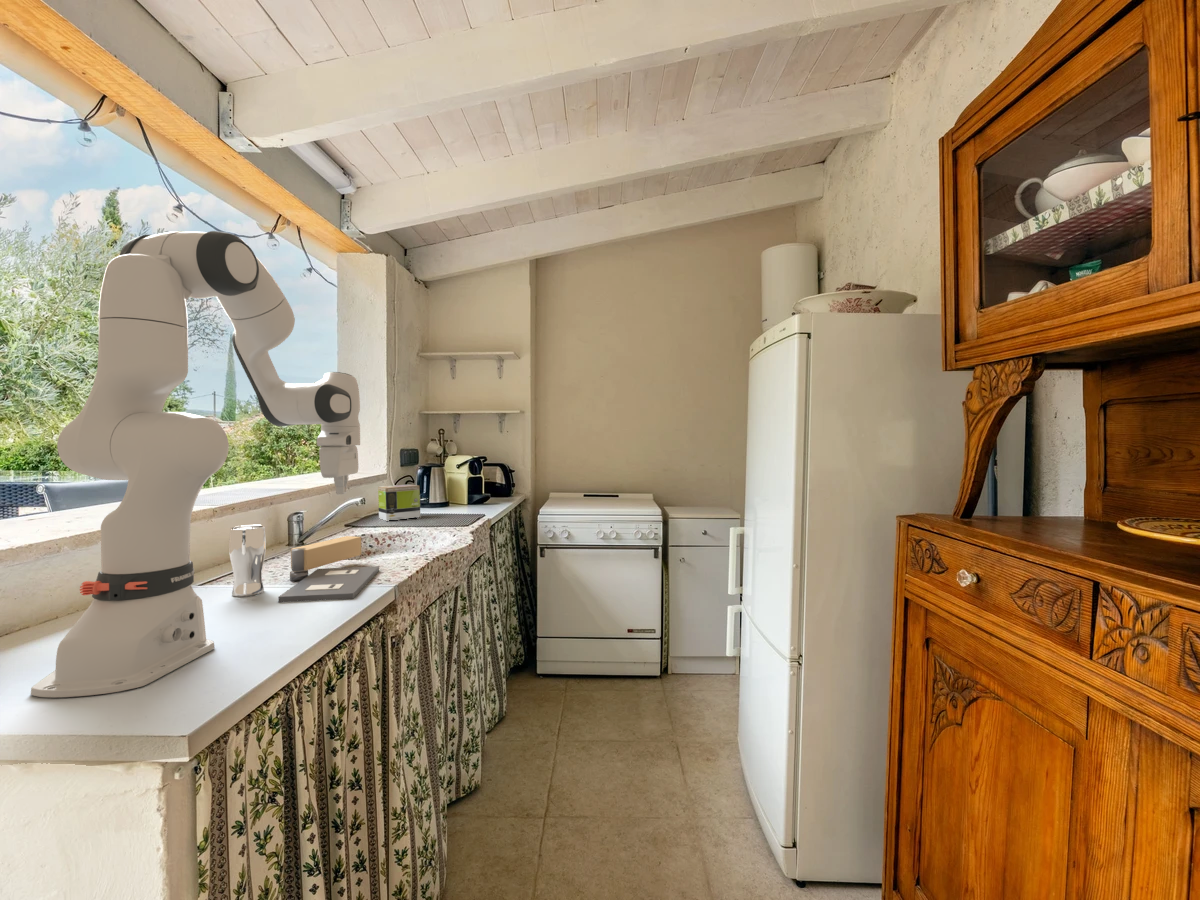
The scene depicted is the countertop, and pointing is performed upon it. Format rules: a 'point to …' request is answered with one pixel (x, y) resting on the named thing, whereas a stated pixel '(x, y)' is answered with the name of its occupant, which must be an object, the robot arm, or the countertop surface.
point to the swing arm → (325, 552)
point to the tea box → (399, 502)
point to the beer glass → (247, 559)
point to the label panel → (330, 584)
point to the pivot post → (298, 575)
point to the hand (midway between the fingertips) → (341, 493)
